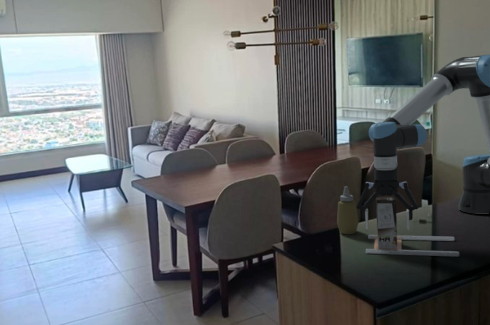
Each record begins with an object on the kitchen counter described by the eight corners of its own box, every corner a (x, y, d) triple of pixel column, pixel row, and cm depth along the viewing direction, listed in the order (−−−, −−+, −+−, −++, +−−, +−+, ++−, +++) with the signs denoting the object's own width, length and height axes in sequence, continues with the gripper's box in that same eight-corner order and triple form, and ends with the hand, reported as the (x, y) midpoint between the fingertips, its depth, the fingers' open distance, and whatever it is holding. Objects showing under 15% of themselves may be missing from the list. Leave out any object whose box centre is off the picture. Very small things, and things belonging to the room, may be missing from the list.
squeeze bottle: (339, 228, 196) (337, 184, 193) (360, 229, 193) (358, 184, 190) (335, 235, 188) (333, 188, 185) (357, 236, 186) (355, 189, 183)
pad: (401, 241, 177) (401, 239, 177) (401, 251, 167) (401, 250, 166) (375, 240, 180) (375, 239, 180) (373, 250, 169) (373, 249, 169)
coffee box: (397, 249, 168) (396, 202, 165) (378, 249, 170) (376, 203, 167) (395, 240, 177) (394, 196, 174) (377, 240, 178) (375, 196, 176)
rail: (453, 239, 174) (453, 236, 174) (459, 256, 159) (458, 252, 159) (368, 237, 183) (368, 234, 183) (365, 253, 168) (365, 249, 167)
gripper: (347, 170, 169) (349, 231, 172) (425, 169, 161) (426, 232, 165) (349, 166, 176) (351, 224, 179) (424, 165, 168) (425, 225, 172)
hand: (387, 228), depth 172 cm, fingers open, 13 cm apart
